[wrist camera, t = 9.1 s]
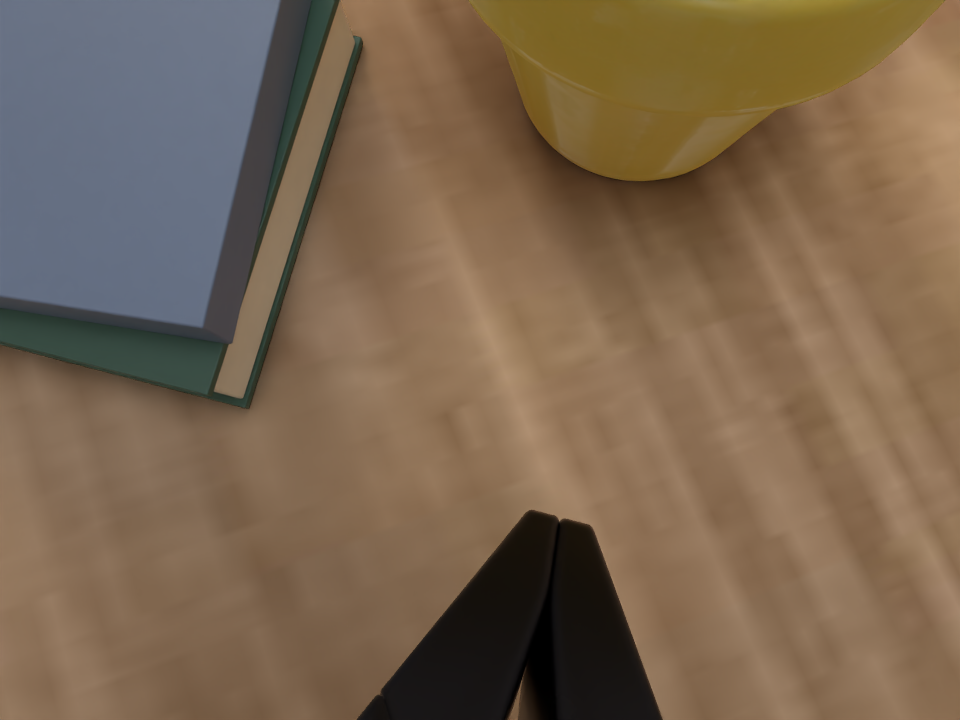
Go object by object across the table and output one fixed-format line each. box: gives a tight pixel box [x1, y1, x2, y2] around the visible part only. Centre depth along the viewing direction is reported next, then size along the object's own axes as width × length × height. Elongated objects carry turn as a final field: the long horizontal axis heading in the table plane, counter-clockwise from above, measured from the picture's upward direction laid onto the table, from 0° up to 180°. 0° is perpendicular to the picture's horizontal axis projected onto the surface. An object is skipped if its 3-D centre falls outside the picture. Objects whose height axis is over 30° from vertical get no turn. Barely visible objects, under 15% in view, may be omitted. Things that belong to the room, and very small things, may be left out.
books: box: [0, 0, 363, 409], centre depth 19 cm, size 11×9×4 cm
